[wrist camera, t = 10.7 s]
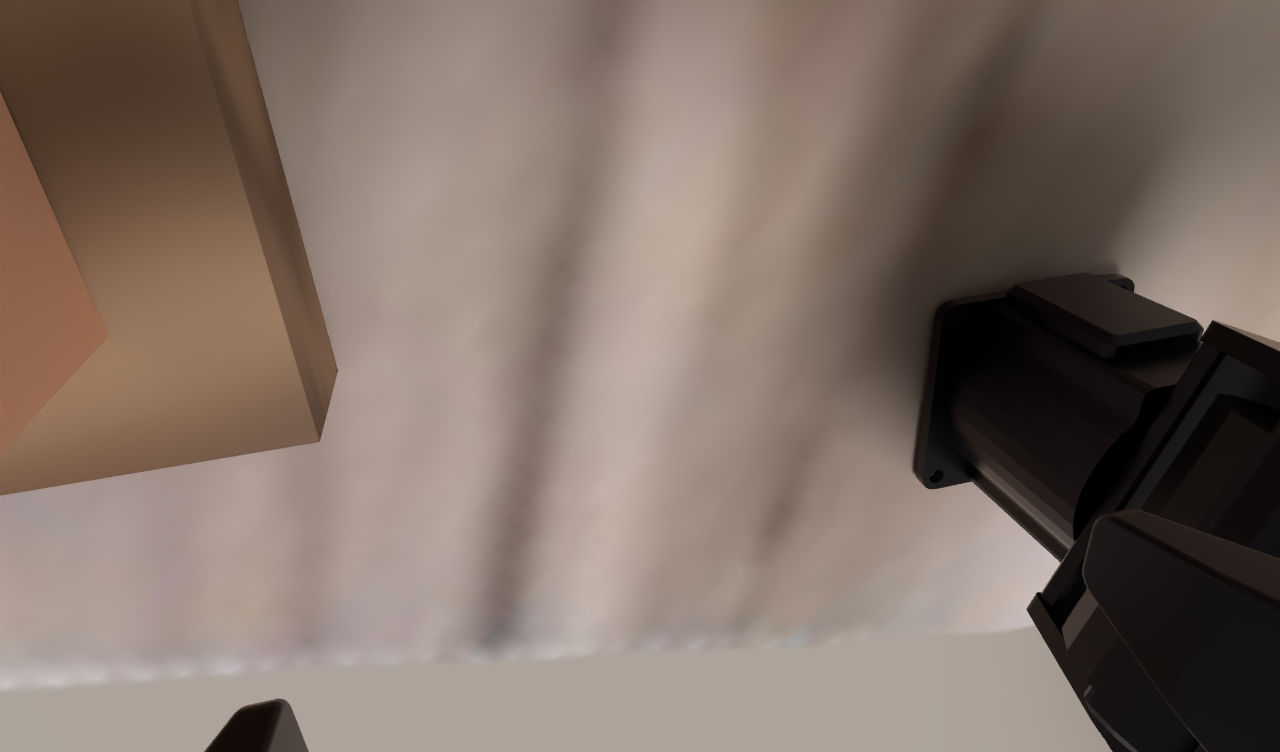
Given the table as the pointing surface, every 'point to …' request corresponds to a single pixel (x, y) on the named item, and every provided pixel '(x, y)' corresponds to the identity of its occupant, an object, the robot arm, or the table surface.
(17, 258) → the terracotta cube
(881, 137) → the table surface
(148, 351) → the walnut block
